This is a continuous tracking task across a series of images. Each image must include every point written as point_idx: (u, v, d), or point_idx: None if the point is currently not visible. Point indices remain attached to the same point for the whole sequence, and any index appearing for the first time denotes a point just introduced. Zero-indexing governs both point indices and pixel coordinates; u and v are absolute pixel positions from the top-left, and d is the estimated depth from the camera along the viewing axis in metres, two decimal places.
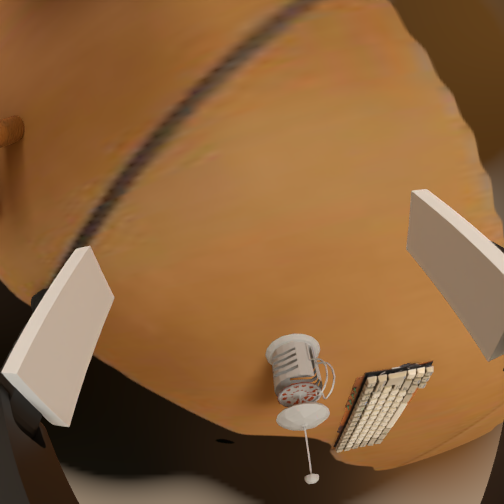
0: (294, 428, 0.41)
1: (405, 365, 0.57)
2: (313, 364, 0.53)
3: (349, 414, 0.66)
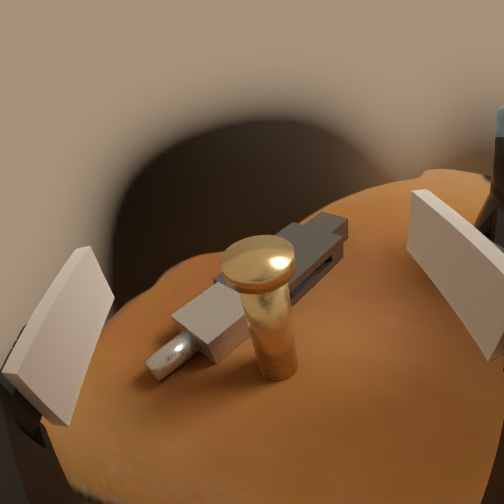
0: None
1: None
2: None
3: None
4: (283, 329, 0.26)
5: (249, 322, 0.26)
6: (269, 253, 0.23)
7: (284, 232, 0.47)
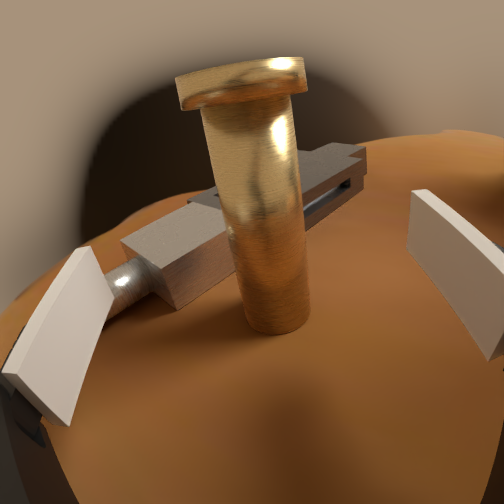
0: None
1: None
2: None
3: None
4: (286, 213, 0.14)
5: (224, 199, 0.14)
6: None
7: None
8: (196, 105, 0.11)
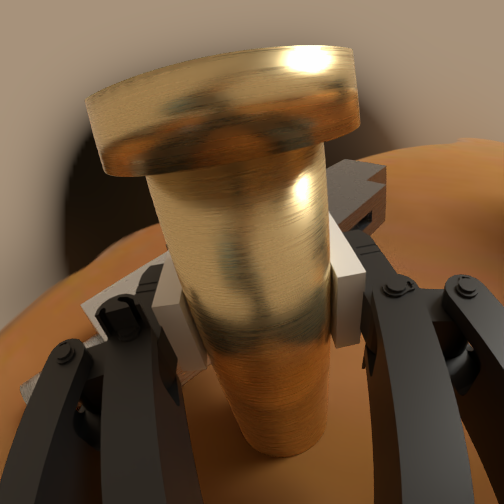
0: None
1: None
2: None
3: None
4: (306, 347, 0.08)
5: (197, 322, 0.08)
6: None
7: None
8: (116, 168, 0.05)
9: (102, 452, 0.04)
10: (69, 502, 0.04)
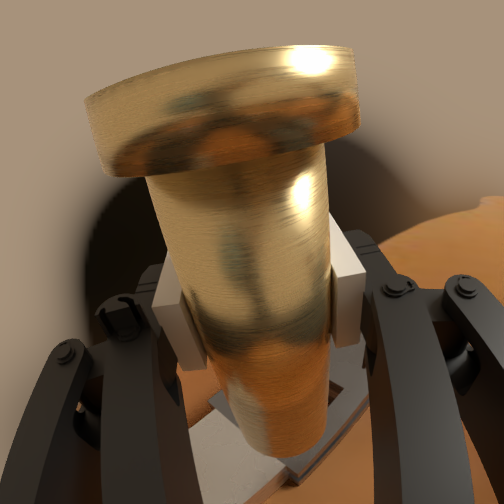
0: None
1: None
2: None
3: None
4: (306, 348, 0.08)
5: (197, 323, 0.08)
6: None
7: None
8: (115, 168, 0.05)
9: (102, 452, 0.04)
10: (69, 502, 0.04)
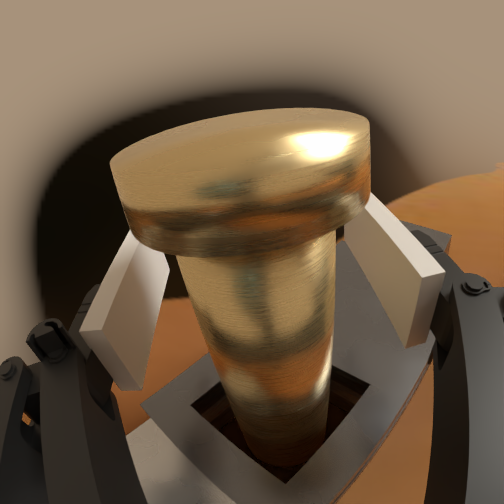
0: None
1: None
2: None
3: None
4: (310, 379, 0.08)
5: (214, 357, 0.09)
6: (282, 122, 0.06)
7: None
8: (148, 241, 0.05)
9: (44, 466, 0.04)
10: None
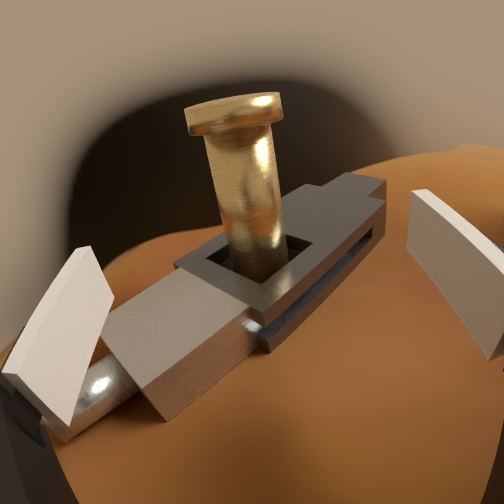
0: None
1: None
2: None
3: None
4: (267, 210, 0.19)
5: (221, 200, 0.19)
6: (248, 96, 0.17)
7: (293, 195, 0.30)
8: (201, 132, 0.16)
9: None
10: None
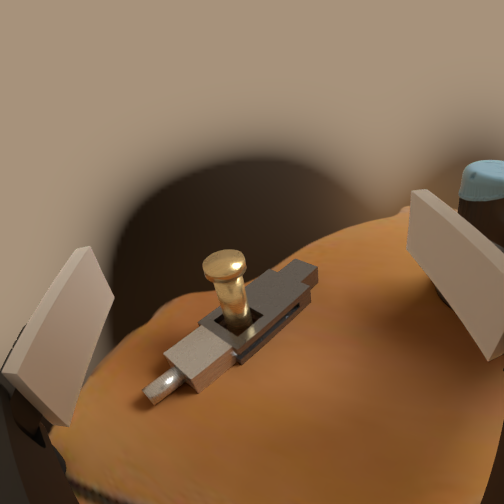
0: None
1: None
2: None
3: None
4: (240, 306, 0.43)
5: (220, 301, 0.44)
6: (230, 260, 0.41)
7: (260, 279, 0.54)
8: (210, 280, 0.40)
9: None
10: None
